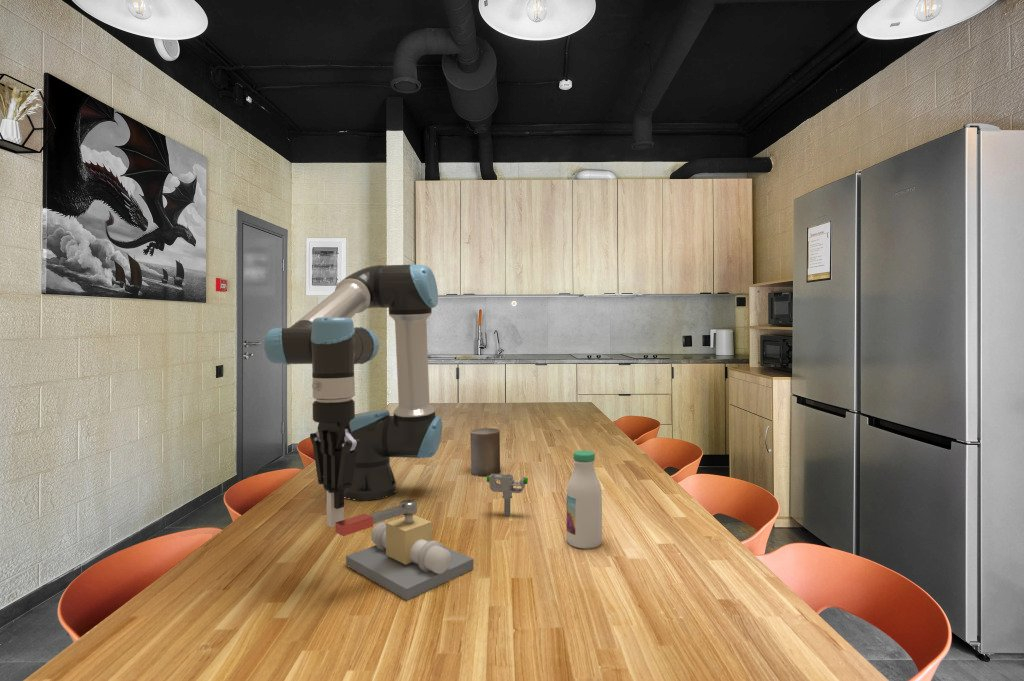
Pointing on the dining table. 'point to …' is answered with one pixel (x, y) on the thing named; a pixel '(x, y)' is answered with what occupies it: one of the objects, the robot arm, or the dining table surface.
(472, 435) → the pillar candle
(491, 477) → the mechanical component
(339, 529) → the valve lever
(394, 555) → the pipe valve base
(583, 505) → the milk bottle
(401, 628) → the dining table surface
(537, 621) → the dining table surface
